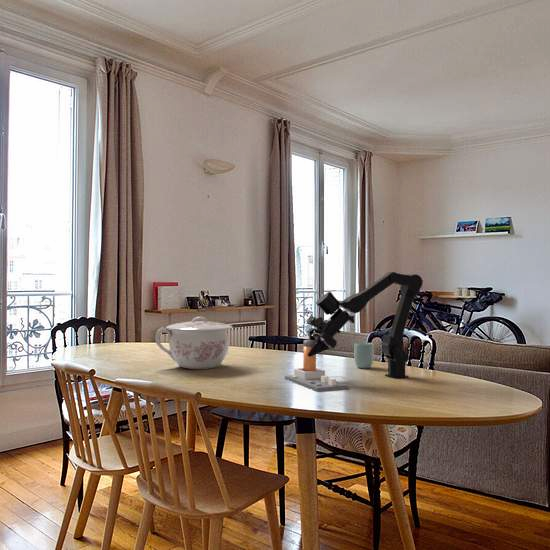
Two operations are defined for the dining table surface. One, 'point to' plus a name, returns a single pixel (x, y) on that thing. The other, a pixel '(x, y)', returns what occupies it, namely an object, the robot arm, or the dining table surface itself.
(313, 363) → the capped spray can
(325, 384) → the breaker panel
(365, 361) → the cup
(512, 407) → the dining table surface
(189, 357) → the chamber pot
